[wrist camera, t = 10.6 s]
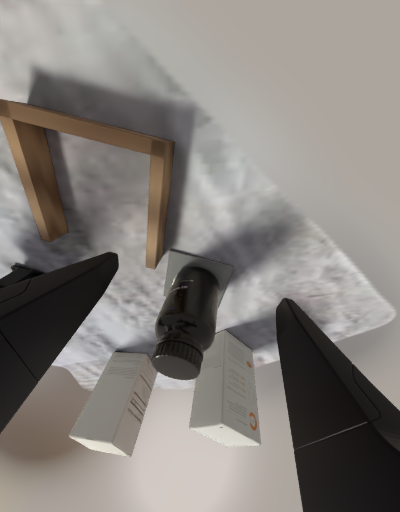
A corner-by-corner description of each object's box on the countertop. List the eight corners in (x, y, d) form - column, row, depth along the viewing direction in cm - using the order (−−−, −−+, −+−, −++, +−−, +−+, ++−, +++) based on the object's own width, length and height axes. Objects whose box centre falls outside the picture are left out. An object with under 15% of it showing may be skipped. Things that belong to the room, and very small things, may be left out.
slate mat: (216, 308, 30) (216, 309, 29) (164, 294, 30) (163, 295, 29) (234, 266, 24) (234, 267, 24) (170, 249, 24) (169, 250, 24)
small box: (200, 339, 35) (187, 428, 24) (225, 328, 32) (222, 424, 21) (227, 359, 38) (226, 447, 27) (253, 350, 35) (262, 446, 24)
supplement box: (127, 369, 48) (91, 450, 35) (113, 350, 43) (65, 436, 31) (158, 372, 46) (131, 458, 34) (147, 353, 41) (111, 445, 29)
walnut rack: (162, 256, 25) (154, 269, 23) (60, 229, 25) (41, 239, 23) (174, 141, 17) (165, 142, 15) (26, 103, 18) (-8, 98, 15)
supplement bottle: (183, 257, 24) (150, 338, 15) (228, 276, 25) (225, 366, 15) (168, 289, 28) (134, 370, 18) (207, 305, 29) (195, 392, 19)
